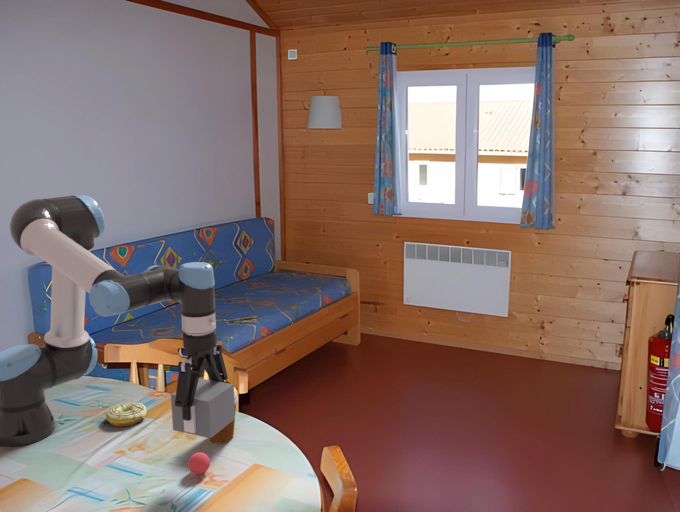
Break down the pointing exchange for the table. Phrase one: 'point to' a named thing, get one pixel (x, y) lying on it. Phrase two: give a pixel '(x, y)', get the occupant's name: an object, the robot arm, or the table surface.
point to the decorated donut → (126, 414)
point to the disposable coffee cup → (226, 429)
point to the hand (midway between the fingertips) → (204, 421)
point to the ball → (199, 463)
